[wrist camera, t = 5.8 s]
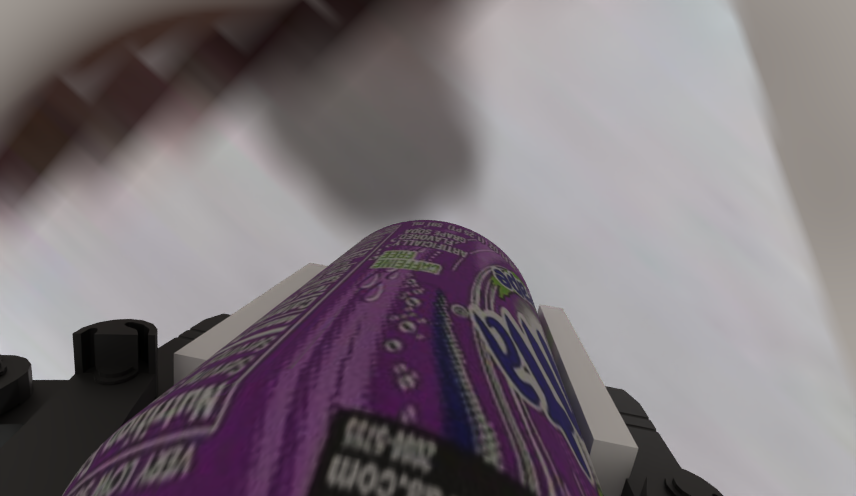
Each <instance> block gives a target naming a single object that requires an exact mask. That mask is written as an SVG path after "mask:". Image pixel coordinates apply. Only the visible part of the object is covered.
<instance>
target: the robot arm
mask: <svg viewBox="0 0 856 496" xmlns="http://www.w3.org/2000/svg"><path fill="white" fill-rule="evenodd" d="M326 267H328V266H324V265H319V264H313V263H309V264H307V265H306V266H304V267H303V268H301V269H300V270H298V271H297V272H295V273H294V274H292V275H291V276H289V277H288V278H286V279H285V280H283V281H282V282H280V283H279V284H277V285H276V286H274V287H273V288H271V289H270V290H268V291H267V292H265V293H264V294H262V295H261V296H259V297H258V298H256V299H255V300H253V301H252V302H250V303H249V304H247V305H246V306H244V307H243V308H241V309H240V310H238V311H237V312H235V313H234V314H232V315H228V314H221V315H218V316H215V317H211V318H208V319H205V320H203V321H202V322H200V323H198V324H197V325H195V326H193V327H192V328H191V329H190V330H187V331H185V332H184V333H182V334H180V335H179V337H178V338H174V339H172V340H171V341H169V342H168V343H166V344H164V345H163V346H161V347H159V348H158V347H157V328H156V327H155V326H154V325H153V324H152V323H149V322H146V321H143V320H134V319H120V320H110V321H104V322H99V323H95V324H92V325H89V326H86V327H83V328H81V329H80V330H78V331H76V332H74V333H73V347H74V362H75V375H74V376H73V377H72V378H71V379H70V380H32V370H31V363H30V362H29V361H28V360H27V359H26V358H23V357H19V356H15V355H0V496H62V495H63V493H64V491H65V490H66V488H67V487H68V485H69V484H70V482H71V481H72V479H73V478H74V476H75V475H76V474H77V472H78V471H79V469H80V468H81V467H82V466H83V464H84V463H85V462H86V461H87V460H88V458H89V457H90V456H91V455H92V454H93V452H95V451H96V450H97V449H98V448H99V447H100V446H101V445H102V444H103V443H104V442H105V441H106V440H107V439H108V438H109V437H110V436H111V435H112V434H114V433H115V432H116V431H117V430H118V429H119V428H120V427H121V426H122V425H123V424H125V423H126V422H127V421H129V420H130V419H131V418H132V417H134V416H135V415H136V414H138V413H139V412H140V411H141V410H143V409H144V408H145V407H147V406H148V405H149V404H150V403H152V402H153V401H154V400H156V399H157V398H158V397H160V396H161V395H162V394H163V393H165V392H166V391H167V390H169V389H170V388H171V387H172V386H174V385H175V384H176V383H178V382H179V381H180V380H182V379H183V378H184V377H185V376H187V375H188V374H189V373H191V372H192V371H193V370H194V369H196V368H197V367H198V366H200V365H201V364H202V363H204V362H205V361H206V360H207V359H209V358H210V357H211V356H213V355H214V354H215V353H216V352H218V351H219V350H220V349H222V348H223V347H224V346H226V345H227V344H228V343H229V342H231V341H232V340H233V339H235V338H236V337H237V336H238V335H240V334H241V333H242V332H244V331H245V330H246V329H248V328H249V327H250V326H251V325H253V324H254V323H255V322H257V321H258V320H259V319H260V318H262V317H263V316H264V315H266V314H267V313H268V312H270V311H271V310H272V309H273V308H275V307H276V306H277V305H279V304H280V303H281V302H282V301H284V300H285V299H286V298H288V297H289V296H290V295H292V294H293V293H294V292H295V291H297V290H298V289H299V288H301V287H302V286H303V285H304V284H306V283H307V282H308V281H310V280H311V279H312V278H314V277H315V276H316V275H317V274H319V273H320V272H321V271H323V270H324V269H325V268H326ZM538 317H539V319H540V322H541V325H542V327H543V330H544V333H545V336H546V338H547V341H548V344H549V347H550V349H551V352H552V355H553V358H554V360H555V363H556V366H557V369H558V371H559V374H560V377H561V379H562V382H563V385H564V388H565V390H566V393H567V396H568V399H569V401H570V404H571V407H572V410H573V412H574V415H575V418H576V421H577V423H578V426H579V429H580V431H581V434H582V437H583V440H584V442H585V445H586V448H587V451H588V453H589V456H590V459H591V462H592V464H593V467H594V470H595V473H596V475H597V478H598V481H599V484H600V486H601V489H602V492H603V494H604V496H723V495H722V494H721V493H720V492H719V491H718V490H717V489H716V488H715V487H713V486H712V485H711V484H709V483H708V482H706V481H705V480H704V479H702V478H701V477H699V476H697V475H695V474H693V473H691V472H689V471H687V470H684V469H681V467H680V466H679V464H678V462H677V461H676V459H675V458H674V456H673V455H672V453H671V452H670V450H669V448H668V447H667V445H666V444H665V442H664V441H663V439H662V438H661V436H660V434H659V433H658V432H656V428H655V427H654V425H653V424H652V422H651V420H649V417H648V416H647V414H646V413H645V411H644V410H643V408H642V406H641V405H640V403H638V402H637V401H636V400H635V399H634V398H633V397H631V396H630V395H629V394H628V393H627V392H626V391H624V390H622V389H617V388H612V387H606V386H604V384H603V382H602V380H601V378H600V376H599V374H598V373H597V371H596V369H595V367H594V365H593V363H592V362H591V360H590V358H589V356H588V354H587V352H586V350H585V349H584V347H583V345H582V343H581V341H580V339H579V338H578V336H577V334H576V332H575V330H574V328H573V326H572V325H571V323H570V321H569V319H568V317H567V315H566V314H565V312H564V310H563V309H562V308H556V307H551V306H545V305H539V309H538Z"/></svg>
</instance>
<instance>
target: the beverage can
mask: <svg viewBox="0 0 856 496" xmlns="http://www.w3.org/2000/svg"><path fill="white" fill-rule="evenodd" d="M62 496H604V494H603V492H602V489H601V486H600V484H599V481H598V478H597V475H596V473H595V470H594V467H593V464H592V462H591V459H590V456H589V453H588V451H587V448H586V445H585V442H584V440H583V437H582V434H581V431H580V429H579V426H578V423H577V421H576V418H575V415H574V412H573V410H572V407H571V404H570V401H569V399H568V396H567V393H566V390H565V388H564V385H563V382H562V379H561V377H560V374H559V371H558V369H557V366H556V363H555V360H554V358H553V355H552V352H551V349H550V347H549V344H548V341H547V338H546V336H545V333H544V330H543V327H542V325H541V322H540V319H539V317H538V314H537V311H536V308H535V306H534V303H533V300H532V297H531V295H530V292H529V289H528V287H527V285H526V282H525V280H524V279H523V277H522V275H521V273H520V272H519V270H518V269H517V267H516V266H515V265H514V263H513V262H512V261H511V260H510V258H509V257H508V256H507V255H506V254H505V253H504V252H503V251H502V250H501V249H500V248H498V247H497V246H496V245H495V244H494V243H492V242H491V241H489V240H488V239H486V238H485V237H483V236H481V235H480V234H478V233H476V232H474V231H472V230H470V229H467V228H465V227H462V226H459V225H455V224H452V223H447V222H442V221H433V220H415V221H407V222H401V223H397V224H393V225H390V226H387V227H385V228H382V229H380V230H378V231H376V232H374V233H372V234H370V235H369V236H367V237H366V238H364V239H363V240H361V241H360V242H359V243H357V244H356V245H355V246H354V247H352V248H351V249H350V250H348V251H347V252H346V253H345V254H343V255H342V256H341V257H339V258H338V259H337V260H336V261H334V262H333V263H332V264H330V265H329V266H328V267H326V268H325V269H324V270H323V271H321V272H320V273H319V274H317V275H316V276H315V277H314V278H312V279H311V280H310V281H308V282H307V283H306V284H304V285H303V286H302V287H301V288H299V289H298V290H297V291H295V292H294V293H293V294H292V295H290V296H289V297H288V298H286V299H285V300H284V301H282V302H281V303H280V304H279V305H277V306H276V307H275V308H273V309H272V310H271V311H270V312H268V313H267V314H266V315H264V316H263V317H262V318H260V319H259V320H258V321H257V322H255V323H254V324H253V325H251V326H250V327H249V328H248V329H246V330H245V331H244V332H242V333H241V334H240V335H238V336H237V337H236V338H235V339H233V340H232V341H231V342H229V343H228V344H227V345H226V346H224V347H223V348H222V349H220V350H219V351H218V352H216V353H215V354H214V355H213V356H211V357H210V358H209V359H207V360H206V361H205V362H204V363H202V364H201V365H200V366H198V367H197V368H196V369H194V370H193V371H192V372H191V373H189V374H188V375H187V376H185V377H184V378H183V379H182V380H180V381H179V382H178V383H176V384H175V385H174V386H172V387H171V388H170V389H169V390H167V391H166V392H165V393H163V394H162V395H161V396H160V397H158V398H157V399H156V400H154V401H153V402H152V403H150V404H149V405H148V406H147V407H145V408H144V409H143V410H141V411H140V412H139V413H138V414H136V415H135V416H134V417H132V418H131V419H130V420H129V421H127V422H126V423H125V424H123V425H122V426H121V427H120V428H119V429H118V430H117V431H116V432H115V433H114V434H112V435H111V436H110V437H109V438H108V439H107V440H106V441H105V442H104V443H103V444H102V445H101V446H100V447H99V448H98V449H97V450H96V451H95V452H93V454H92V455H91V456H90V457H89V458H88V460H87V461H86V462H85V463H84V464H83V466H82V467H81V468H80V469H79V471H78V472H77V474H76V475H75V476H74V478H73V479H72V481H71V482H70V484H69V485H68V487H67V488H66V490H65V491H64V493H63V495H62Z"/></svg>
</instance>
